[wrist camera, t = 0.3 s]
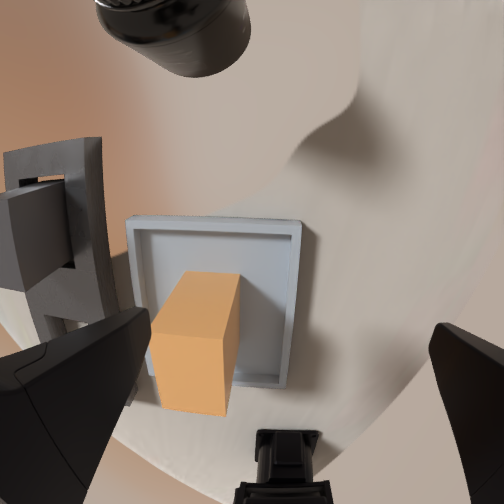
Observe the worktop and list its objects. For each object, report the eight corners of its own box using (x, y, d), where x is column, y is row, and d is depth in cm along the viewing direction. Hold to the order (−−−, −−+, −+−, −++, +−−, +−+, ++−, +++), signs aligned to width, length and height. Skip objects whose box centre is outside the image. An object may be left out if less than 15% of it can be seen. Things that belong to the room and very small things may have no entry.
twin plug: (85, 250, 23) (25, 292, 16) (51, 248, 24) (-9, 285, 16) (77, 177, 21) (7, 199, 14) (42, 180, 22) (-26, 202, 14)
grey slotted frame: (137, 390, 28) (129, 406, 26) (68, 373, 29) (58, 386, 26) (101, 136, 20) (83, 137, 18) (22, 149, 21) (3, 152, 18)
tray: (285, 377, 26) (285, 388, 25) (154, 364, 27) (149, 375, 25) (300, 220, 21) (301, 226, 20) (133, 215, 22) (125, 220, 21)
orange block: (239, 342, 24) (225, 416, 17) (191, 337, 25) (162, 408, 17) (240, 273, 22) (222, 339, 15) (185, 270, 23) (146, 331, 15)
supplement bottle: (273, 30, 17) (269, -75, 6) (202, 98, 19) (117, 56, 8) (202, -19, 16) (145, -118, 4) (136, 45, 18) (28, -10, 6)
